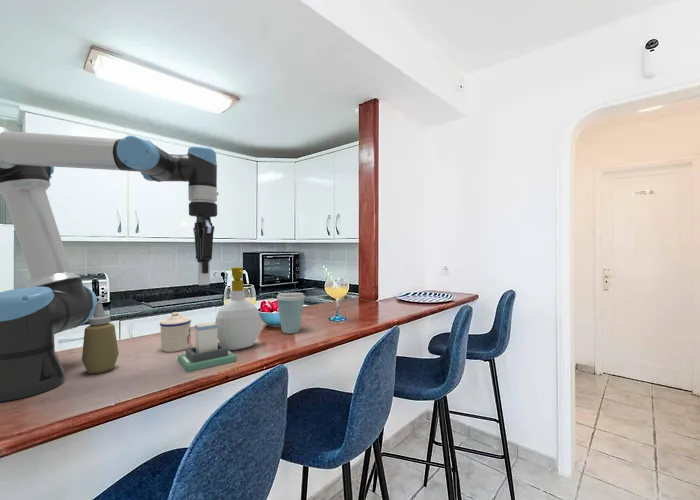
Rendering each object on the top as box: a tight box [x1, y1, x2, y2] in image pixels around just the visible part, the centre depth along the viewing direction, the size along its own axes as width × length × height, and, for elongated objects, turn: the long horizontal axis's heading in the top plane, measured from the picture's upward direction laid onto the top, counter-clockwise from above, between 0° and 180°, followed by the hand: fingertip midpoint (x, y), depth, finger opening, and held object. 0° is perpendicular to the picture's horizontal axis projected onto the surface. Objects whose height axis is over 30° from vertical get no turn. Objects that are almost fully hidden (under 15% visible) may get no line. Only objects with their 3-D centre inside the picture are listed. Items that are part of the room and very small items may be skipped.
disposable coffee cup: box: [276, 292, 306, 334], centre depth 131 cm, size 11×11×15 cm
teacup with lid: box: [159, 311, 192, 353], centre depth 113 cm, size 12×9×12 cm
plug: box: [194, 321, 219, 354], centre depth 99 cm, size 5×4×9 cm
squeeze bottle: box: [81, 303, 120, 374], centre depth 93 cm, size 8×8×18 cm
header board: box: [177, 342, 237, 373], centre depth 99 cm, size 13×12×4 cm
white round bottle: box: [215, 266, 261, 351], centre depth 110 cm, size 14×9×26 cm, turn 125°
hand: (204, 284), depth 98 cm, fingers closed
